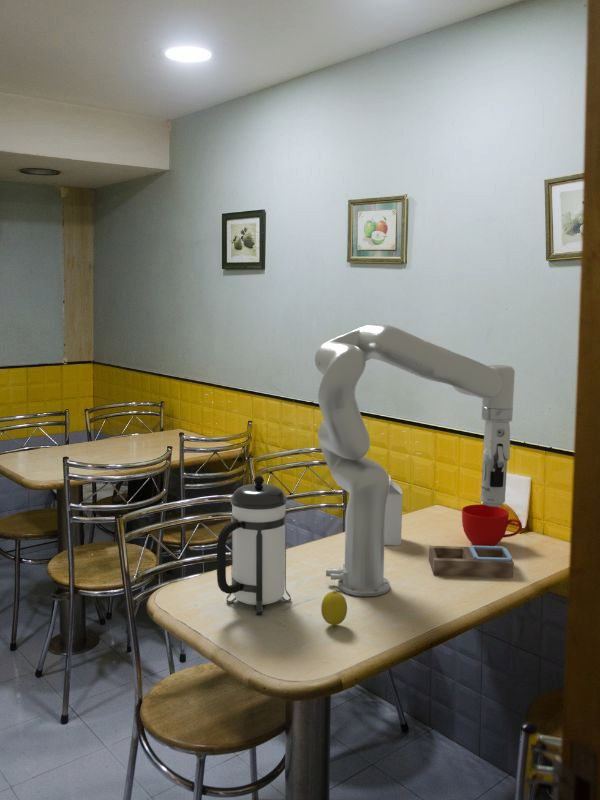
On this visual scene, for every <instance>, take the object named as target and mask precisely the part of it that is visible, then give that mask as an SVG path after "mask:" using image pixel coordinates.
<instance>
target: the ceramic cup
mask: <svg viewBox="0 0 600 800" xmlns="http://www.w3.org/2000/svg"><path fill="white" fill-rule="evenodd" d="M509 515H510V514H509V511H508V510H507V509H505V508H503V507H501V506H497V507H494V506H487V505H484V504H471V505H470V504H469V505H466V506H465V505H464V507H463V508H461V522H462V529H463V532H464V534H465V536H466V539H468V541H469V542H470V543H471V546H498V544H499V543H500V542H501V541H502V540H503V539H504V538H510V537H515V536H516V535H518V534H519V533H520V532H521V531H522V527H523V524H522V522H521V521H520V520H519V519H517V518H511V519H509ZM511 523H517V524H518V529H517V530H516V531H514V532H512V533H507V534H506V532H507V529H508V526H509V525H510V524H511Z"/></svg>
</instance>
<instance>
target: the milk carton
mask: <svg viewBox="0 0 600 800" xmlns="http://www.w3.org/2000/svg"><path fill="white" fill-rule="evenodd" d="M388 477H389V482H390V486H389V493H388V497H387V502H386V511H385V542H384V546H397V547H399V546H401V547H402V530H403V529H402V526H403V525H402V524H403V522H402V520H403V519H402V518H403V489H402V488H401V487H400V486H399V485H398V484H397V482H395V481H394V480H393V479H391V475H390V474H388Z"/></svg>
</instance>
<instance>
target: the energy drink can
mask: <svg viewBox="0 0 600 800" xmlns="http://www.w3.org/2000/svg"><path fill="white" fill-rule="evenodd" d="M503 456H504V454H503ZM494 459H498V458H497V457H494ZM496 463H497V462H495V464H496ZM481 468H482V470H481V471H482V473H481V486H480V487H481V488H480V489H481V490H480V501H481V502H482V505H487V506H494V507H501V506H504V505H503V503H505V502H506V487H507V471H508V470H507V469H508V461H506V460H505V458H504V478H503V487H491V486H490V471H492V460H491V459H489V456H488V452H487V449H485V450H484V449H483V452H482V467H481Z"/></svg>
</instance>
